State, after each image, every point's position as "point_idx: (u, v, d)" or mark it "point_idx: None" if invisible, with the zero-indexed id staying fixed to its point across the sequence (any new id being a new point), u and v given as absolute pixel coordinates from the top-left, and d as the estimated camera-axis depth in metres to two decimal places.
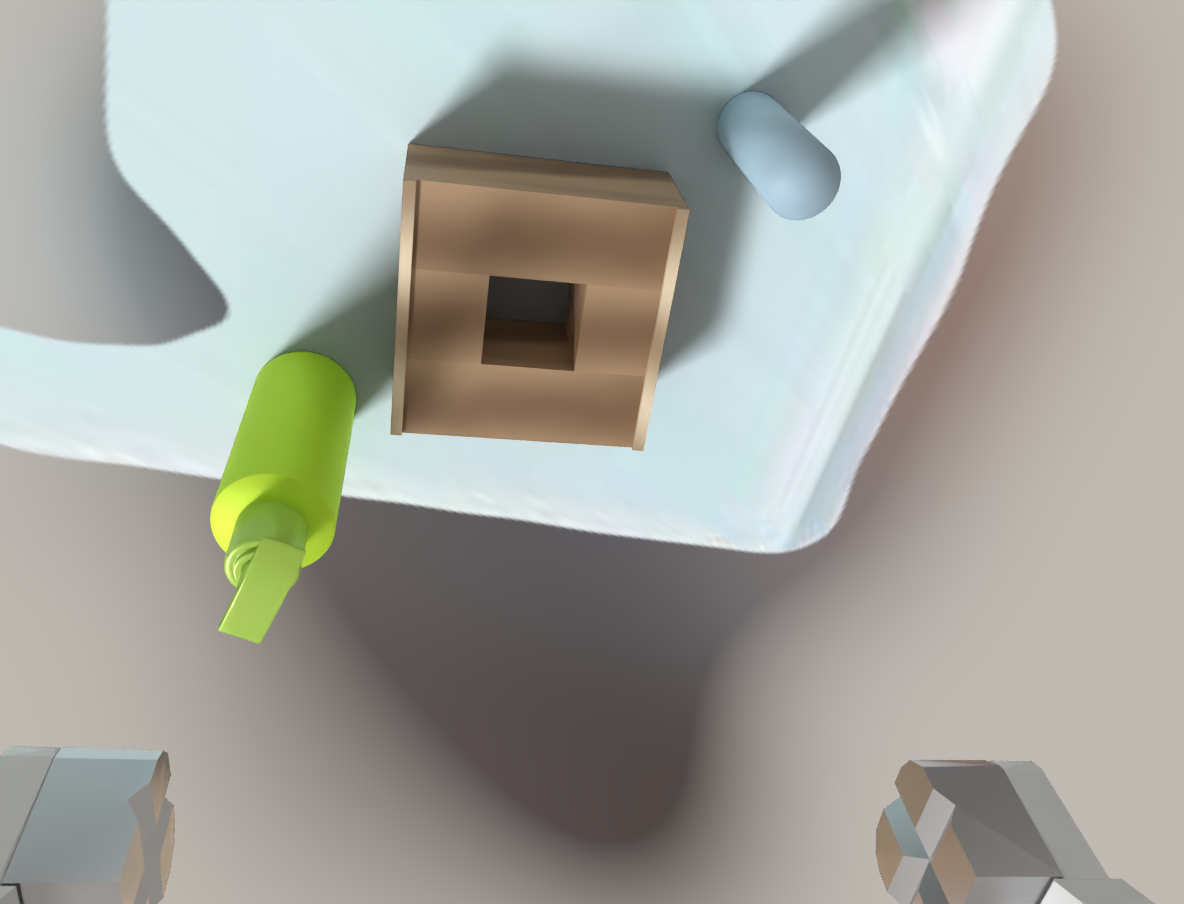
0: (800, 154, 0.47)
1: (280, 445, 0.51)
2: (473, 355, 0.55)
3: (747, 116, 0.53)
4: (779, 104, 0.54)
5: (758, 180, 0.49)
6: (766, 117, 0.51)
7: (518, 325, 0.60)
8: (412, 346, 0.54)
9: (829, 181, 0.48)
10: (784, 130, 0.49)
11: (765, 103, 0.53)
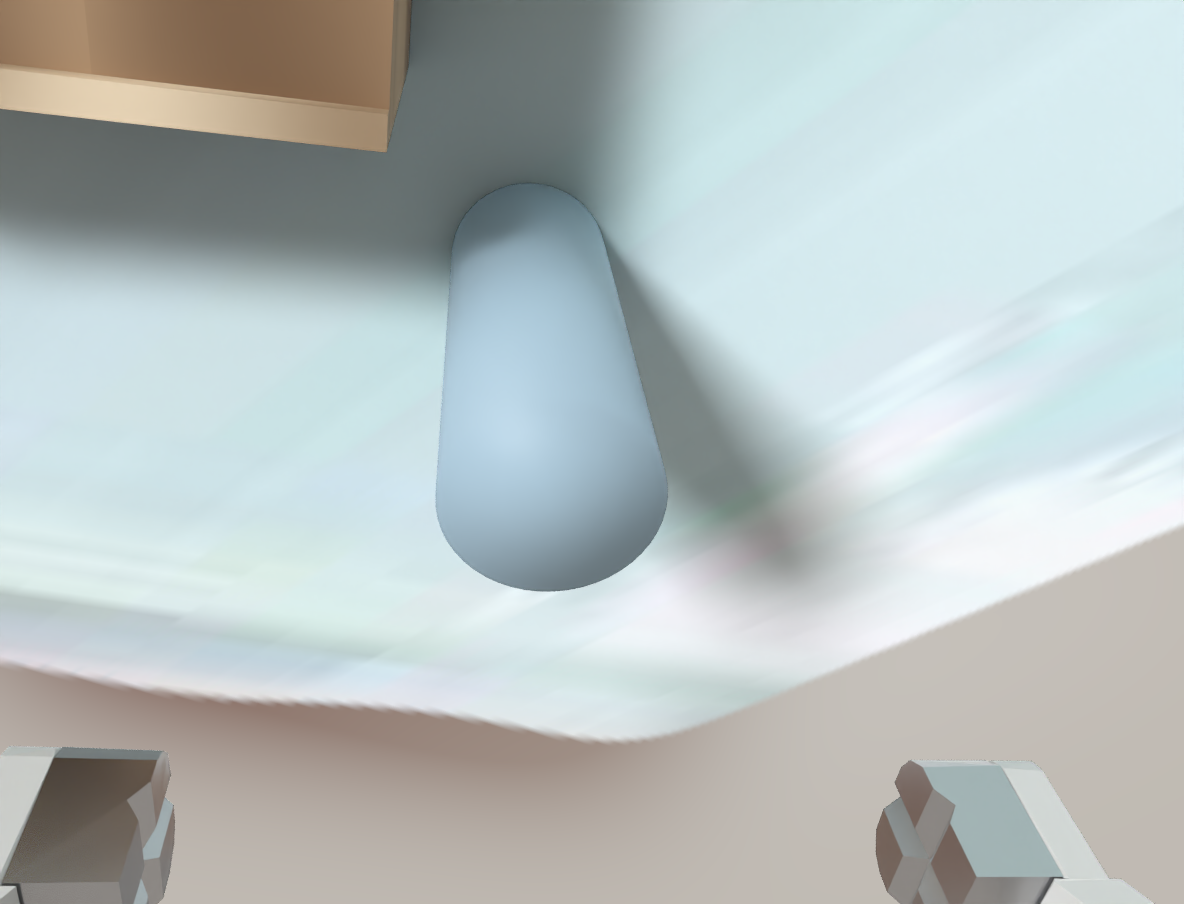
0: (634, 485, 0.16)
1: None
2: None
3: (602, 270, 0.21)
4: None
5: (536, 370, 0.16)
6: (626, 328, 0.20)
7: None
8: None
9: (554, 566, 0.17)
10: None
11: None
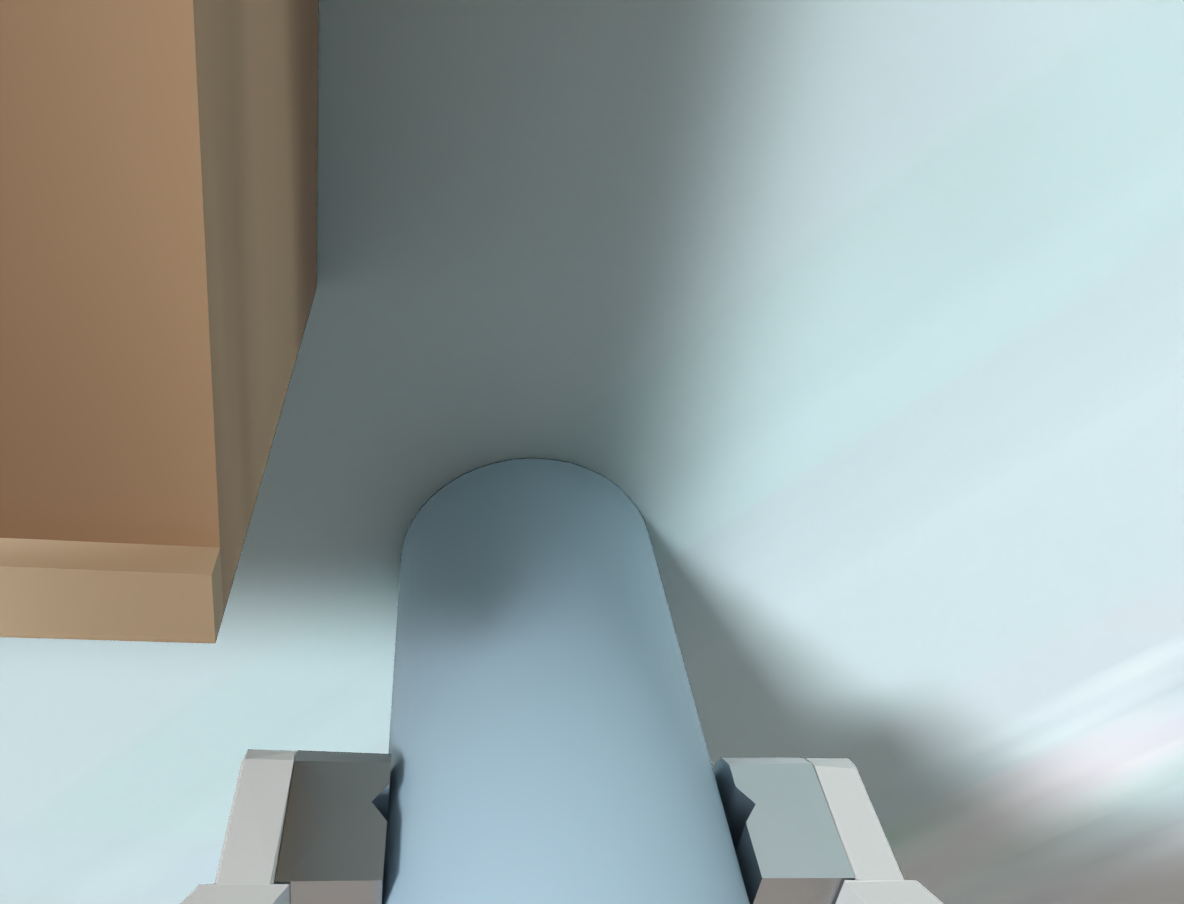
0: None
1: None
2: None
3: (670, 673, 0.12)
4: None
5: None
6: (724, 816, 0.11)
7: None
8: None
9: None
10: None
11: None
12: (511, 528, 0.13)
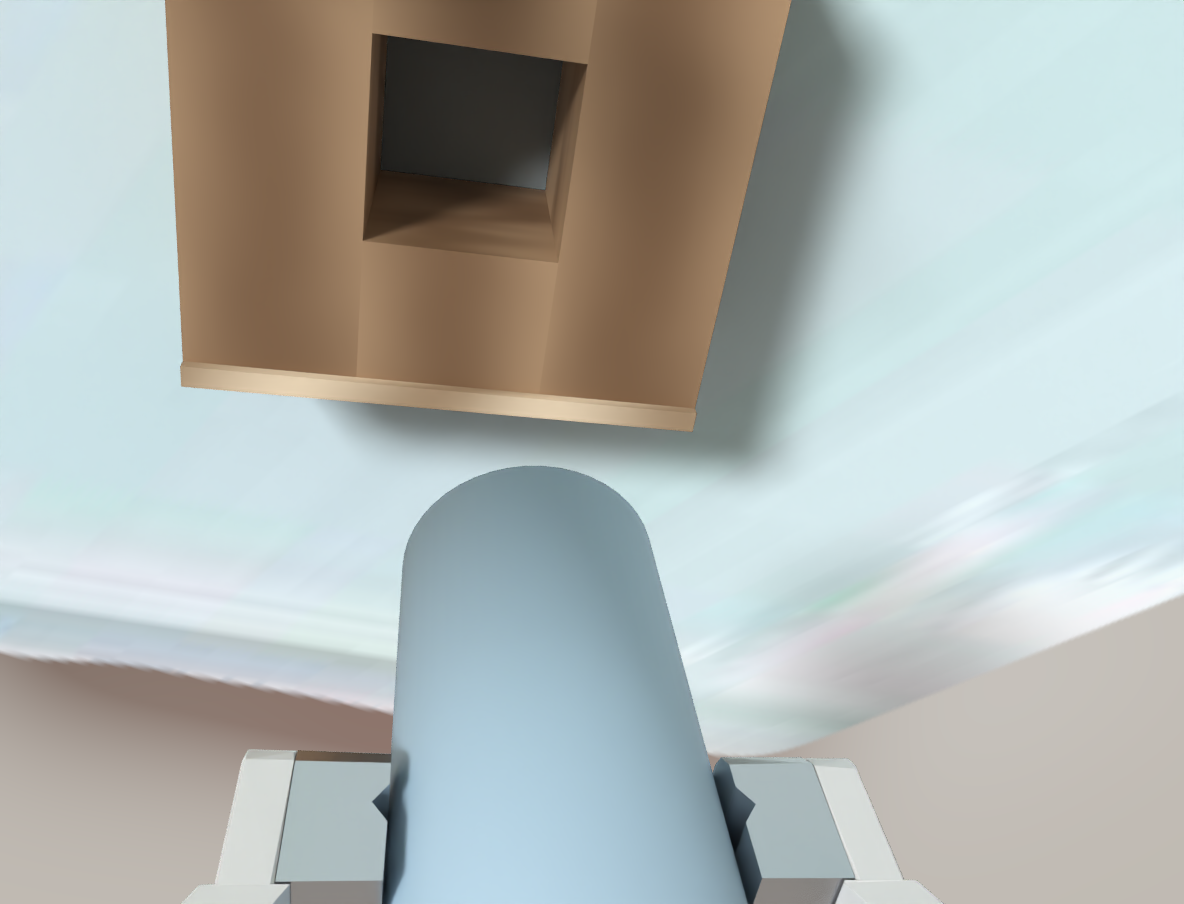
0: None
1: None
2: (393, 16, 0.24)
3: (671, 682, 0.12)
4: None
5: None
6: (725, 823, 0.11)
7: (383, 81, 0.30)
8: None
9: None
10: None
11: None
12: (512, 536, 0.13)
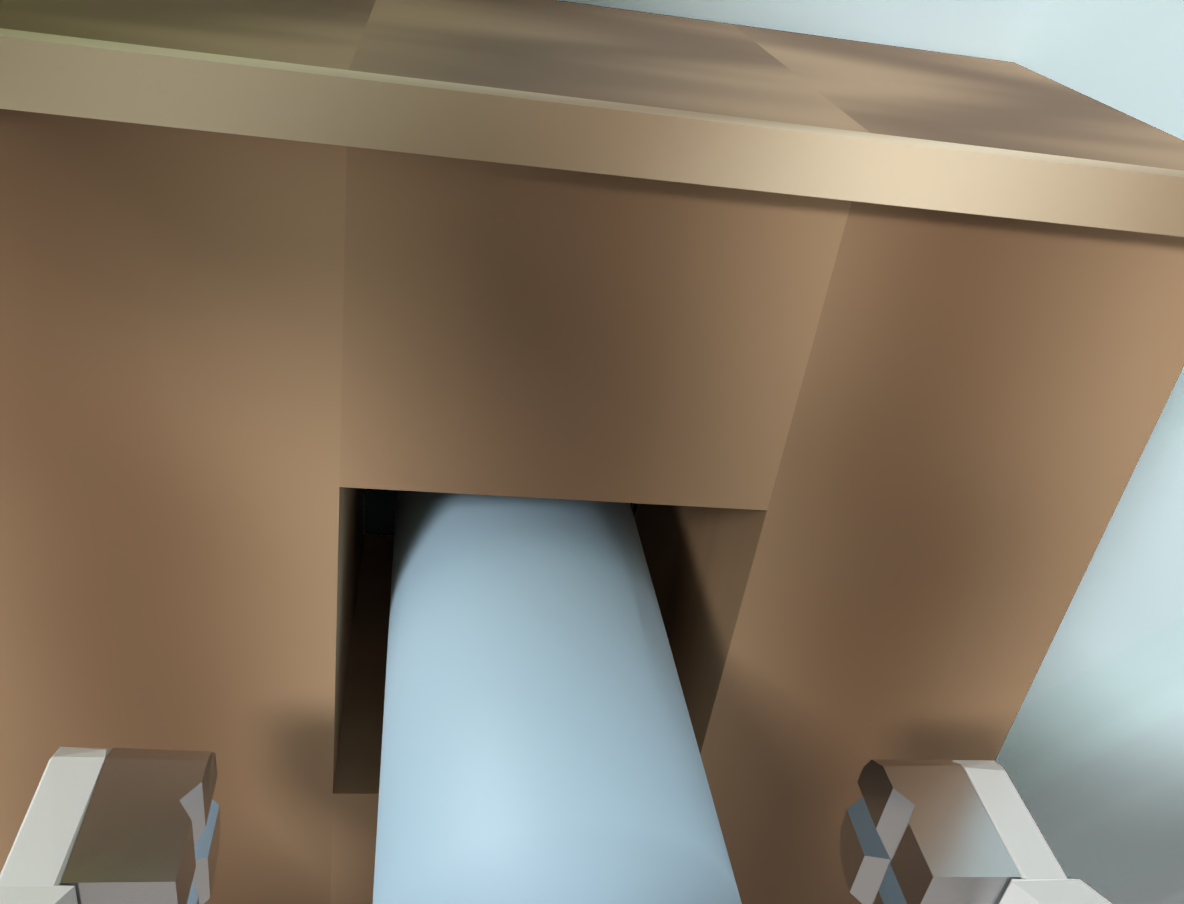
0: None
1: None
2: (383, 456, 0.12)
3: None
4: None
5: (530, 748, 0.10)
6: (650, 577, 0.14)
7: None
8: (423, 176, 0.10)
9: None
10: None
11: None
12: None
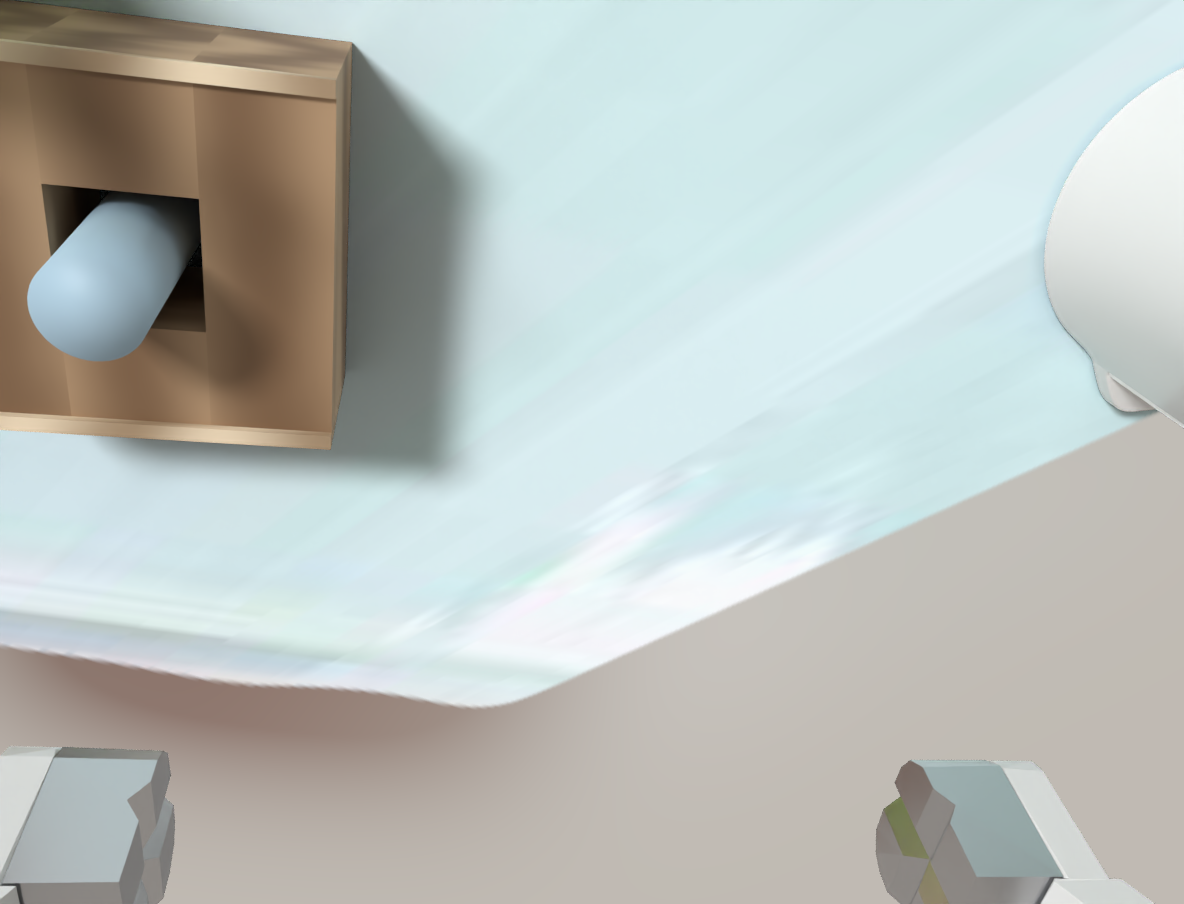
0: (129, 301, 0.33)
1: None
2: (54, 172, 0.35)
3: (173, 207, 0.38)
4: (198, 245, 0.41)
5: (78, 245, 0.33)
6: (175, 237, 0.37)
7: (94, 198, 0.40)
8: (50, 73, 0.33)
9: (99, 347, 0.34)
10: (161, 268, 0.35)
11: (195, 228, 0.39)
12: None
